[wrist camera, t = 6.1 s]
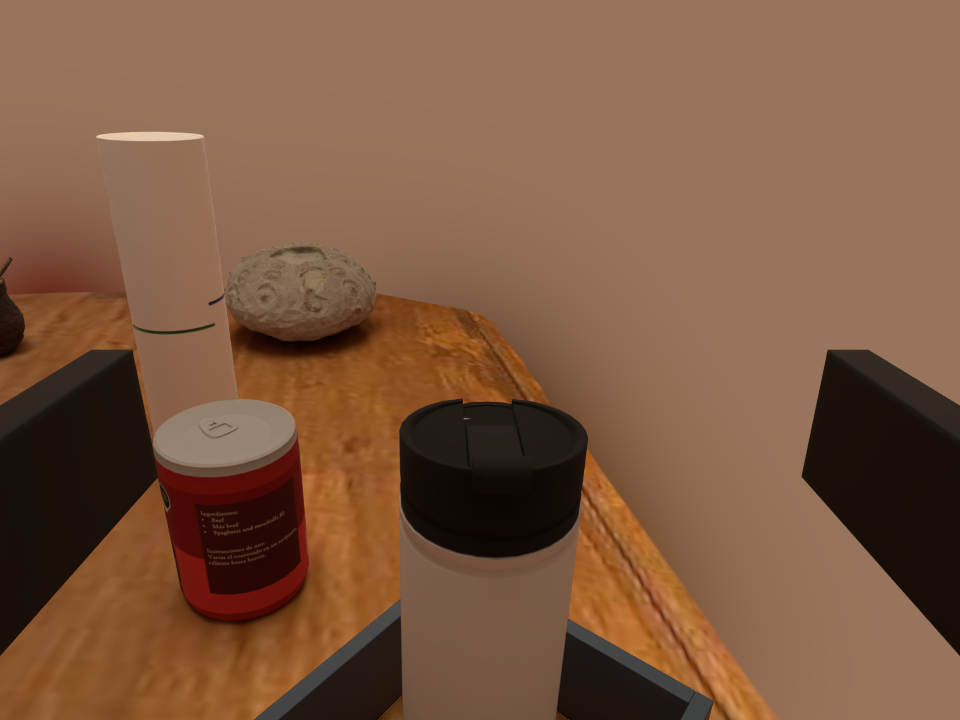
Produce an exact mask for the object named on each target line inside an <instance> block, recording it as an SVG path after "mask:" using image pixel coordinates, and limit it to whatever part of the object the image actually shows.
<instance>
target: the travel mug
mask: <svg viewBox="0 0 960 720" xmlns="http://www.w3.org/2000/svg"><path fill="white" fill-rule="evenodd" d="M399 434H400V476H401V483H400V495H399V512H400V517H399V531H400V586H401V642H402V698H403V720H555V719H556V711H557V702H558V694H559V686H560V678H561V670H562V662H563V654H564V645H565V637H566V629H567V621H568V613H569V605H570V596H571V588H572V580H573V572H574V564H575V556H576V547H577V539H578V531H579V521H580V515H581V503H580V501H581V490H582V484H583V476H584V468H585V460H586V452H587V443H588V436H587V433H586V430H585V429H584V428H583V426H582V425H581V424H580V422H578V421H577V420H576V419H574V418H573V417H572V416H570V415H568V414H566V413H564V412H563V411H561V410H558V409H555V408H553V407H550V406H547V405H544V404H540V403H536V402H532V401H524V400H516V399H512V404H507V403H503V402H470V403H465V404H463V399H456V400H448V401H441V402H437V403H434V404H431V405H428V406H425V407H423V408H421V409H418V410H417V411H415V412H414V413H412V414H411V415H409V416H408V417H407V418H406V419H405V420H404V421H403V423H402V425H401V427H400V430H399Z"/></svg>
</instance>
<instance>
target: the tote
mask: <svg viewBox="0 0 960 720" xmlns="http://www.w3.org/2000/svg"><path fill="white" fill-rule="evenodd" d="M401 694H402V642H401V599H400V600H399V601H398V602H396V603H395V604H394V605H393V606H392V607H390V608H389V609H388V610H387V611H386V612H384V613H383V614H382V615H381V616H379V617H378V618H377V619H376V620H375V621H373V622H372V623H371V624H370V625H368V626H367V627H366V628H365V629H364V630H362V631H361V632H360V633H359V634H358V635H356V636H355V637H354V638H353V639H351V640H350V641H349V642H348V643H347V644H345V645H344V646H343V647H342V648H340V649H339V650H338V651H337V652H336V653H334V654H333V655H332V656H331V657H329V658H328V659H327V660H326V661H325V662H323V663H322V664H321V665H320V666H319V667H317V668H316V669H315V670H314V671H312V672H311V673H310V674H309V675H308V676H306V677H305V678H304V679H303V680H301V681H300V682H299V683H298V684H297V685H295V686H294V687H293V688H292V689H291V690H289V691H288V692H287V693H286V694H284V695H283V696H282V697H281V698H280V699H278V700H277V701H276V702H275V703H273V704H272V705H271V706H270V707H269V708H267V709H266V710H265V711H264V712H263V713H261V714H260V715H259V716H258V717H256V718H255V719H254V720H376V719H377V718H378V717H379V716H380V715H381V714H382V713H383V712H384V711H385V710H386V709H387V708H388V707H389V706H390V705H391V704H392V703H393V702H394V701H395V700H396V699H397V698H398V697H399V696H400V695H401ZM712 705H713V700H711V699H709V698H707V697H706V696H704V695H702V694H700V693H698V692H695V691H694V690H693V689H691V688H689V687H688V686H686V685H684V684H682V683H680V682H679V681H677V680H675V679H673V678H672V677H670V676H668V675H666V674H665V673H663V672H661V671H659V670H658V669H656V668H654V667H652V666H651V665H649V664H647V663H645V662H643V661H642V660H640V659H638V658H636V657H635V656H633V655H631V654H629V653H628V652H626V651H624V650H622V649H621V648H619V647H617V646H615V645H614V644H612V643H610V642H608V641H606V640H605V639H603V638H601V637H599V636H598V635H596V634H594V633H592V632H591V631H589V630H587V629H585V628H584V627H582V626H580V625H578V624H577V623H575V622H573V621H571V620H569V619H568V621H567V629H566V637H565V645H564V654H563V662H562V670H561V678H560V686H559V694H558V702H557V710H558V711H560V712H561V713H563V714H564V715H566V716H567V717H569V718H570V719H572V720H709V717H710V713H711V709H712Z"/></svg>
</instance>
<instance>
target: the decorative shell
mask: <svg viewBox="0 0 960 720" xmlns="http://www.w3.org/2000/svg"><path fill="white" fill-rule="evenodd" d="M229 275H230V278H229V279H228V283H227V287H226V292H225V298H226V305H227V306H228V308H229V311H230V313H231V314H232V315H233V317H234V319H235V320H236V321H238V322H239V323H240V324H242V325H244V326H245V327H247V328H248V329H250V330H251V331H257V332H261V333H264V334H267V335H270V336H272V337H274V338H277V339H279V340H281V341H309V340H311V341H314V340H318V339H321V338H323V337H326V336H331V335H334V334H335V333H339V332H340V331H343V330H347V329H349V328H350V327H351V326H355V325H358V324H359V323H360V322H361V321H365V320H366V318H367V317H368V316H369V315H370V313H371V312H372V311H373V308H374V305H375V302H376V298H377V296H376V291H375V290H376V282H375V281H372V280H371V278H370V275H369V274H368V272H367V271H366V270H365V269H364V267H363V266H362V265H361V264H359V263H358V262H357V261H356V260H355V259H354V258H353V257H351V256H349V255H348V254H347V253H345V252H341V251H339V250H336V249H334V248H333V249H331V248H328V247H323V246H320V245H318V244H315V245H314V244H313V243H311V244H306V243H300V244H292V245H290V246H282V247H278V248H275V247H272V248H271V249H264V250H260V251H258V252H256V253H254V254H252V255H250V256H249V257H243V260H242V262H241V263H240V264H239V265H238V266H237V268H236V269H235V270H233V271H230V273H229Z"/></svg>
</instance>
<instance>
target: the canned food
mask: <svg viewBox="0 0 960 720" xmlns="http://www.w3.org/2000/svg"><path fill="white" fill-rule="evenodd" d="M153 446H154V447H153V449H154V457H155V462H156V467H157V472H158V480H159V485H160V490H161V494H162V499H163V504H164V509H165V514H166V519H167V524H168V528H169V533H170V538H171V543H172V548H173V553H174V557H175V562H176V567H177V572H178V577H179V582H180V587H181V589H182V592H183V594H184V596H185V597H186V599H187V600H188V601H189V603H190V604H191V605H192V606H193V607H194V609H195V610H196V611H198V612H200V613H201V614H203V615H205V616H207V617H210V618H213V619H218V620H224V621H240V620H247V619H253V618H256V617H260V616H263V615H266V614H268V613H270V612H273V611H275V610H276V609H278V608H280V607H281V606H283V605H285V604H286V603H287V602H288V601H289V600H291V599H292V598H293V597H294V596H295V595H296V593H297V592H298V591H299V590H300V588H301V586H302V584H303V582H304V580H305V577H306V573H307V569H308V565H309V557H308V545H307V533H306V522H305V510H304V499H303V487H302V475H301V464H300V452H299V443H298V434H297V428H296V425H295V420H294V418H293V416H292V415H291V414H290V413H289V412H288V411H287V410H285V409H284V408H282V407H280V406H278V405H275V404H272V403H268V402H264V401H258V400H247V399H235V400H223V401H216V402H211V403H206V404H202V405H198V406H195V407H193V408H190V409H187V410H185V411H182V412H180V413H178V414H176V415H174V416H173V417H171V418H170V419H168V420H167V421H165V422H164V423H163V424H162V425H161V426H160V427H159V428H158V430H157V431H156V432H155V435H154V438H153Z"/></svg>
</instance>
